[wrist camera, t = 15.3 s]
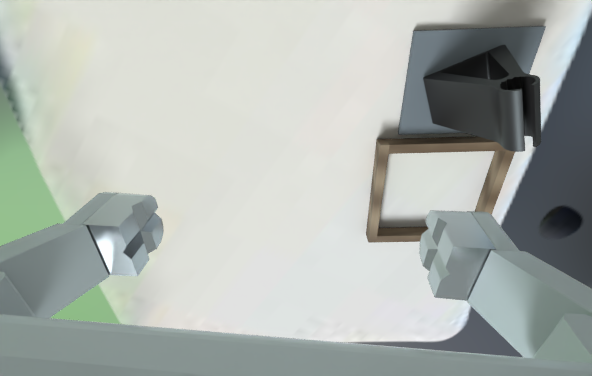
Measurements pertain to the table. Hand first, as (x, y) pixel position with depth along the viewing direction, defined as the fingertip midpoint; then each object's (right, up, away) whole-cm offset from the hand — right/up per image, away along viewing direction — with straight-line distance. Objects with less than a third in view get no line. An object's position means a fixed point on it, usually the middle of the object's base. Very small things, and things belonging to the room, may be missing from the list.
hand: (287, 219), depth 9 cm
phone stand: (+20, +13, +27) cm, 37 cm away
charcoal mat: (+21, +13, +28) cm, 37 cm away
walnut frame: (+20, +1, +36) cm, 41 cm away
